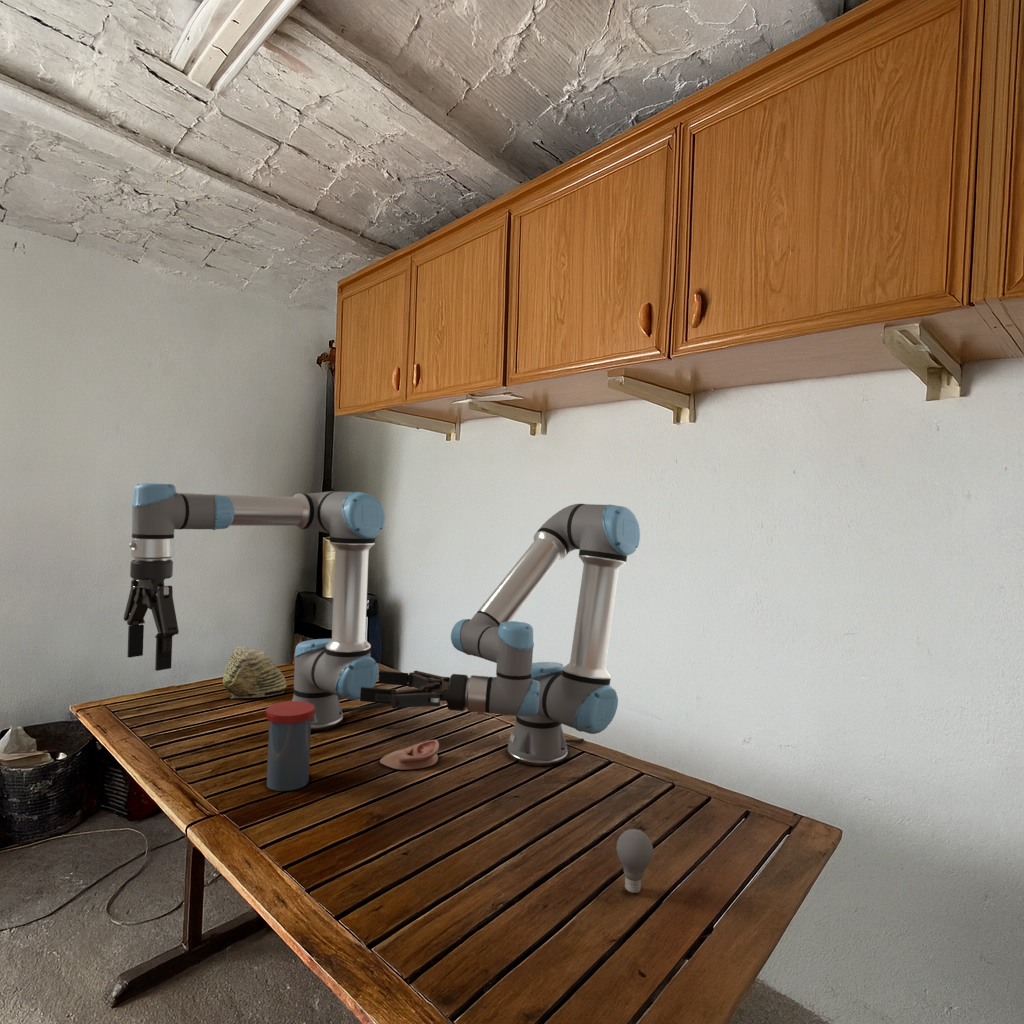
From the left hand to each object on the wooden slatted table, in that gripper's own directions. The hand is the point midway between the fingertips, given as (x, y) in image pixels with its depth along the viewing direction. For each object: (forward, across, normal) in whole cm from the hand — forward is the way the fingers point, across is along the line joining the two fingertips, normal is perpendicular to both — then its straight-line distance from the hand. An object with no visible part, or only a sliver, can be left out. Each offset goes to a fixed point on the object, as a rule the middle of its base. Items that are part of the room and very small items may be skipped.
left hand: (148, 662), depth 129 cm
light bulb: (+28, +90, +41) cm, 103 cm away
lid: (+12, +14, +24) cm, 30 cm away
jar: (+28, +14, +24) cm, 39 cm away
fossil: (+28, -47, +50) cm, 74 cm away
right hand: (+5, +29, +34) cm, 45 cm away
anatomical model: (+28, +25, +50) cm, 63 cm away
